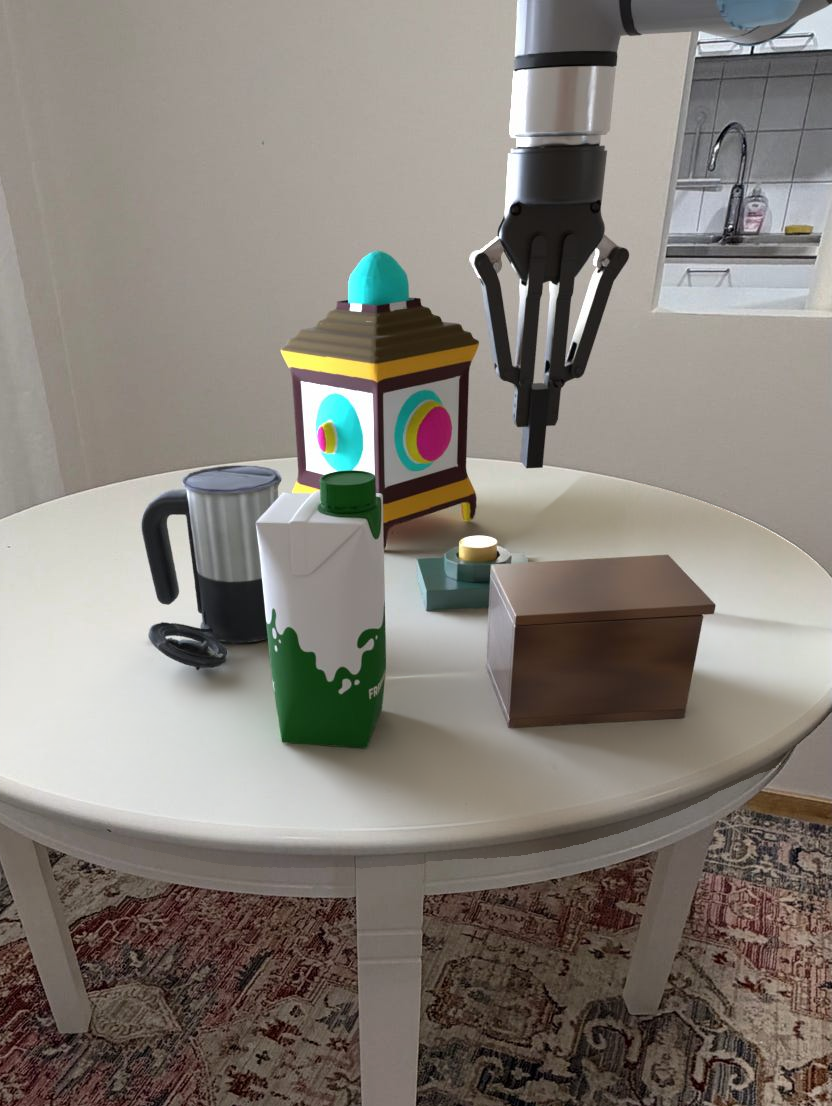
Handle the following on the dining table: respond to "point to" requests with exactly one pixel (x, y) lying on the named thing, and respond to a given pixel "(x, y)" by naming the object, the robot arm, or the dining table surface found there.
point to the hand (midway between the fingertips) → (531, 463)
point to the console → (459, 580)
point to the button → (478, 548)
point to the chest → (590, 667)
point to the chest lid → (598, 590)
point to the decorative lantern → (384, 396)
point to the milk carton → (326, 609)
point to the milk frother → (212, 559)
